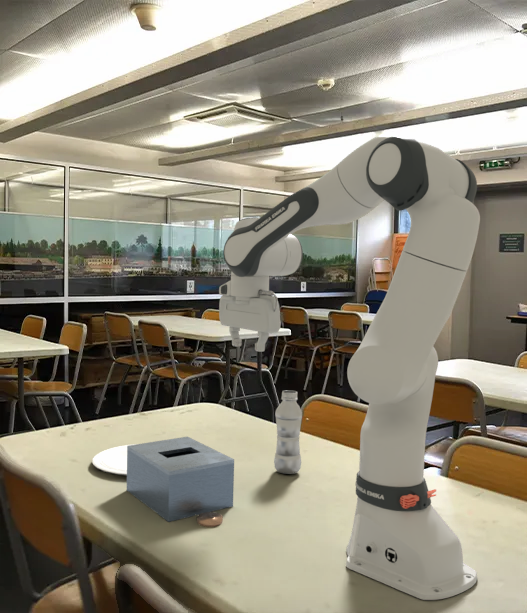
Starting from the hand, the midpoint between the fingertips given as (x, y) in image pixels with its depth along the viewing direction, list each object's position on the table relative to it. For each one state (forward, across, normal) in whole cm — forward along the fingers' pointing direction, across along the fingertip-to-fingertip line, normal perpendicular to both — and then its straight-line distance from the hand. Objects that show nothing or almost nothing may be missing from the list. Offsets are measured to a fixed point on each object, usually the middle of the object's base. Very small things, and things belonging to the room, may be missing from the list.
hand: (247, 348), depth 144 cm
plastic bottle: (+31, -1, -12) cm, 34 cm away
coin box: (+31, -2, +18) cm, 36 cm away
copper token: (+31, -16, +19) cm, 40 cm away
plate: (+32, +23, +15) cm, 42 cm away
